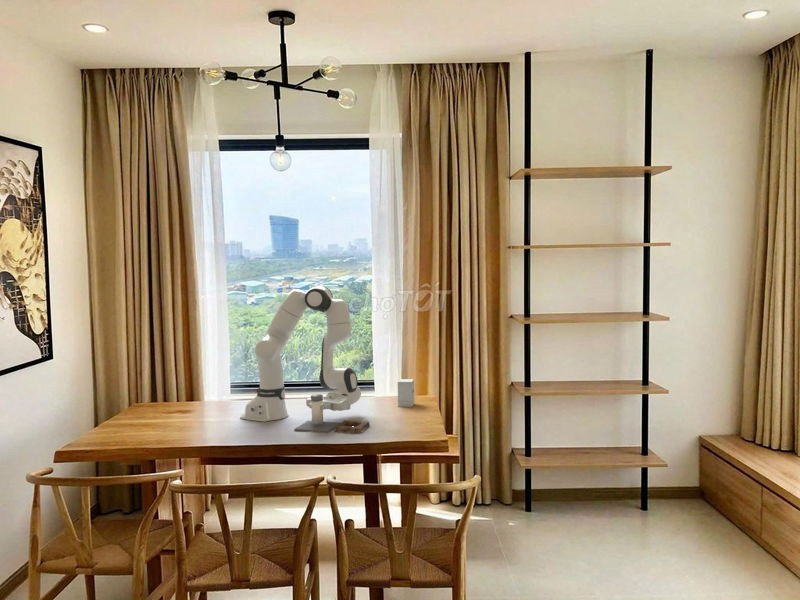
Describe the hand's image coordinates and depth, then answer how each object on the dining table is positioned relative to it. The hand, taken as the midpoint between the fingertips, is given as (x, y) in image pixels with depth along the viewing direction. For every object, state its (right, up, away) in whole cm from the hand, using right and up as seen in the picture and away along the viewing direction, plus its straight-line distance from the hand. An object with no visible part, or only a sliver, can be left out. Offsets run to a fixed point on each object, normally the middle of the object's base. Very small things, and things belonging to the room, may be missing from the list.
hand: (315, 407), depth 278 cm
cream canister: (+1, -7, +1) cm, 7 cm away
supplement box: (+40, -6, +38) cm, 56 cm away
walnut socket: (+16, -9, -2) cm, 19 cm away
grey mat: (+1, -9, +1) cm, 9 cm away
